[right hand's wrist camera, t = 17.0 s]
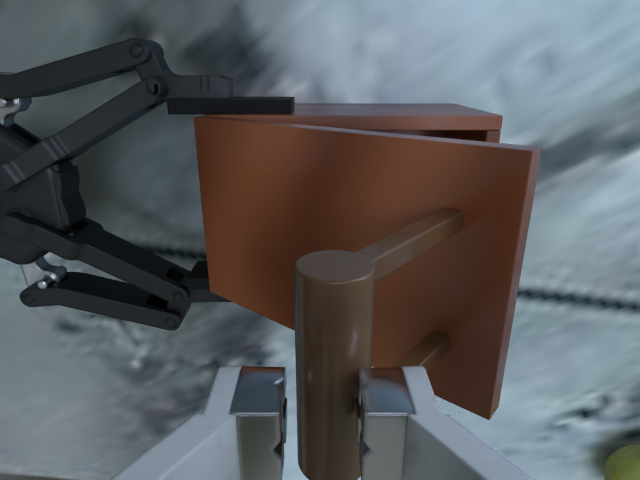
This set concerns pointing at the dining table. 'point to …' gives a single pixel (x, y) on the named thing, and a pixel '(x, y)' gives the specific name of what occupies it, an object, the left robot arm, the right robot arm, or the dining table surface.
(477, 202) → the lid
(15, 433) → the dining table surface
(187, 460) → the right robot arm
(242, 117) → the chest
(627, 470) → the fruit
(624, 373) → the dining table surface
